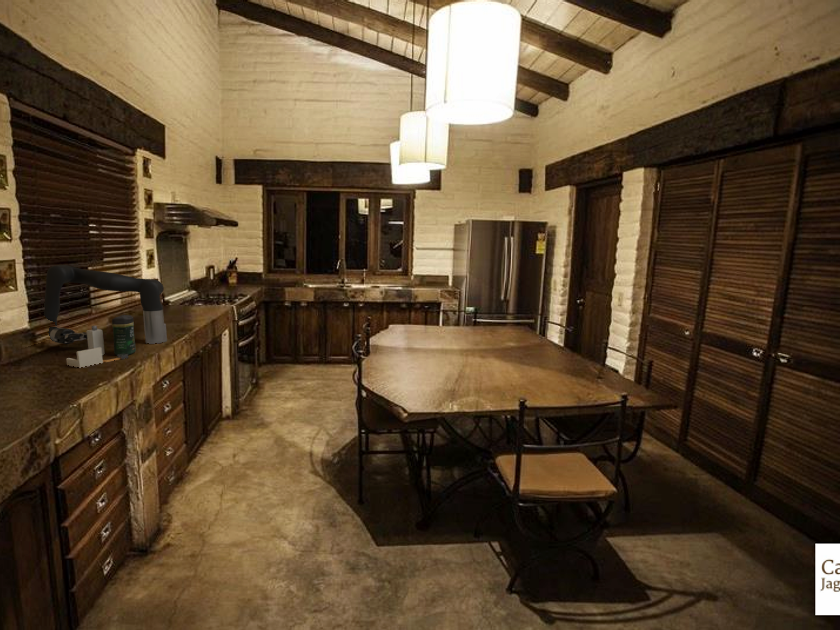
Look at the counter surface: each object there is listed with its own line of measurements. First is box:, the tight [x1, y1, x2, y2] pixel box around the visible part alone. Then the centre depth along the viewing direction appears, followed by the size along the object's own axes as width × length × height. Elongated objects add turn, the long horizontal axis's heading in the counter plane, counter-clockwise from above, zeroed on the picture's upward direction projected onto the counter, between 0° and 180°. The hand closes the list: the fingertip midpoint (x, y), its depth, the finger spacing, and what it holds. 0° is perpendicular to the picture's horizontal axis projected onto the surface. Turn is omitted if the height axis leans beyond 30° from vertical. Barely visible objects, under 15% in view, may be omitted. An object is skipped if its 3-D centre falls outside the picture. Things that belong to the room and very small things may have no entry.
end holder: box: [65, 347, 104, 369], centre depth 208 cm, size 10×9×7 cm
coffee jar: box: [111, 314, 137, 356], centre depth 226 cm, size 10×8×19 cm
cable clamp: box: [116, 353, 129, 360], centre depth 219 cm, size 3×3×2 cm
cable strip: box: [103, 357, 122, 363], centre depth 215 cm, size 10×5×1 cm, turn 154°
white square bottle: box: [86, 325, 106, 356], centre depth 224 cm, size 4×4×14 cm
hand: (82, 339), depth 228 cm, fingers open, 8 cm apart
